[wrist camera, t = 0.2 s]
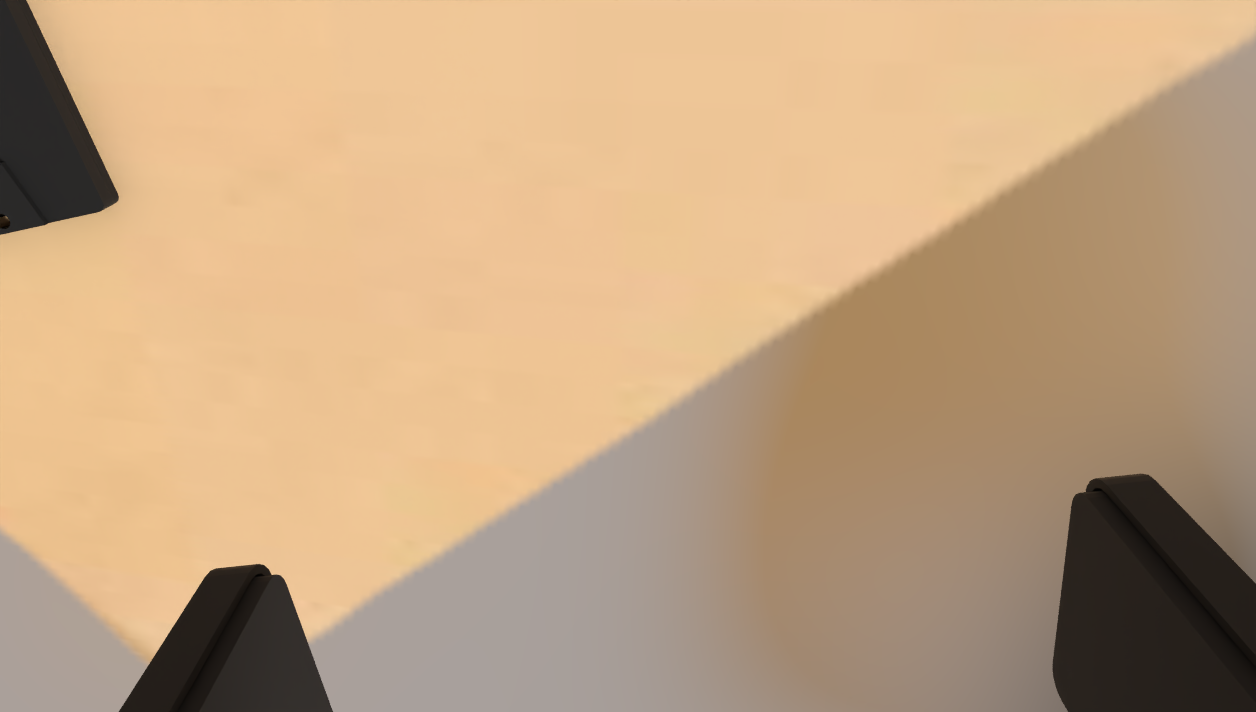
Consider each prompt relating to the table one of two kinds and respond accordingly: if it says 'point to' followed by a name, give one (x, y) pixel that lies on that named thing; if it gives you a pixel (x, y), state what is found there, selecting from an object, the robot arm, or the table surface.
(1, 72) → the cassette tape
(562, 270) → the table surface
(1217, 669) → the robot arm
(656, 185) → the table surface
